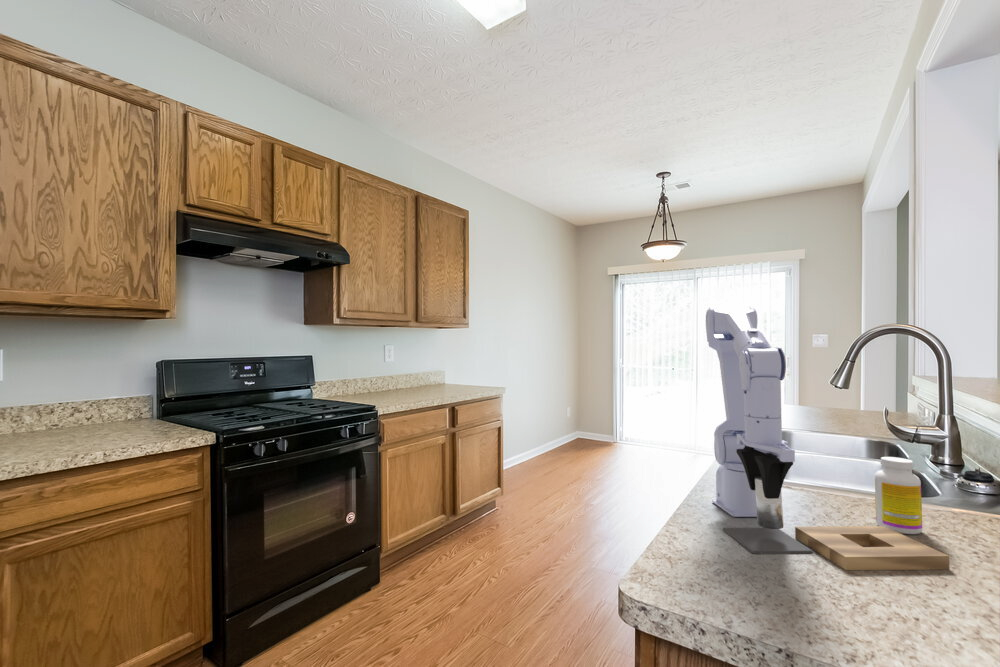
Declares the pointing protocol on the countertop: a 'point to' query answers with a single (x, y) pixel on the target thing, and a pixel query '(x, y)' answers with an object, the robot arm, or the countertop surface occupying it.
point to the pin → (768, 508)
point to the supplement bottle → (898, 496)
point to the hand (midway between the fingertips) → (764, 493)
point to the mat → (766, 540)
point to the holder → (871, 548)
